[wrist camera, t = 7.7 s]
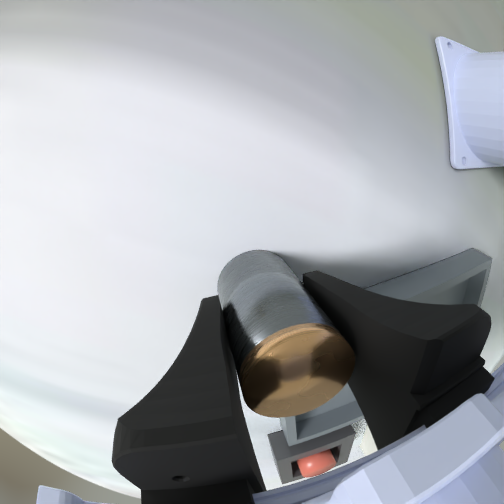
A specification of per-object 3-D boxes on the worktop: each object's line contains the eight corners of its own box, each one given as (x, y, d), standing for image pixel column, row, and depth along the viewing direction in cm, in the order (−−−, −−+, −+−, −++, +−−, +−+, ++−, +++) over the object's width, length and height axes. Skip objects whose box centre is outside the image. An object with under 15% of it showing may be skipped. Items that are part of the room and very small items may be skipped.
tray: (472, 247, 16) (492, 258, 14) (446, 351, 20) (459, 364, 18) (263, 318, 14) (274, 344, 12) (280, 425, 18) (288, 446, 16)
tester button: (328, 438, 18) (337, 457, 16) (326, 451, 19) (334, 468, 17) (294, 449, 18) (302, 469, 16) (295, 462, 19) (302, 480, 17)
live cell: (287, 242, 12) (359, 320, 7) (293, 306, 14) (350, 395, 8) (210, 260, 12) (231, 358, 6) (225, 323, 13) (252, 427, 8)
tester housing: (342, 409, 19) (355, 433, 16) (336, 442, 21) (347, 461, 19) (267, 434, 18) (276, 461, 16) (274, 462, 20) (282, 484, 18)
